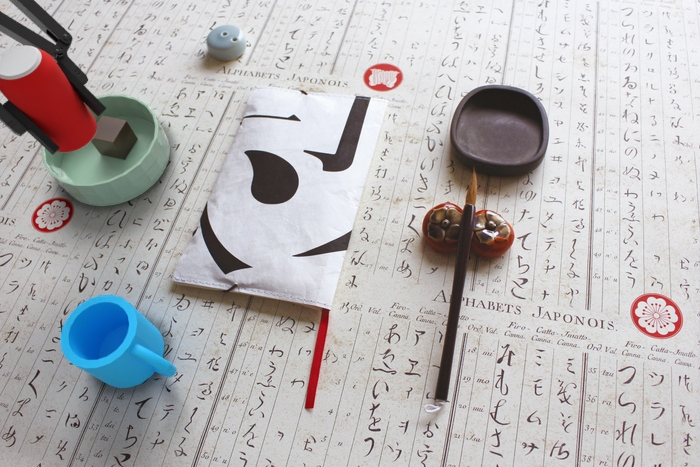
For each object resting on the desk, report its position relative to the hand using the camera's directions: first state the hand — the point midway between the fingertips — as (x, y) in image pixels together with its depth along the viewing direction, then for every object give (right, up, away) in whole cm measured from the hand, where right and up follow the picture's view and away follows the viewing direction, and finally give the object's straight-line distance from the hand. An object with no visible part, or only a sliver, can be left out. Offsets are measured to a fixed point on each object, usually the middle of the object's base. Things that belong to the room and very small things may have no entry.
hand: (79, 131), depth 62 cm
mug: (+6, -26, +4) cm, 27 cm away
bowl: (-4, -1, +19) cm, 19 cm away
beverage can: (-3, 0, +5) cm, 5 cm away
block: (-3, +1, +19) cm, 19 cm away
